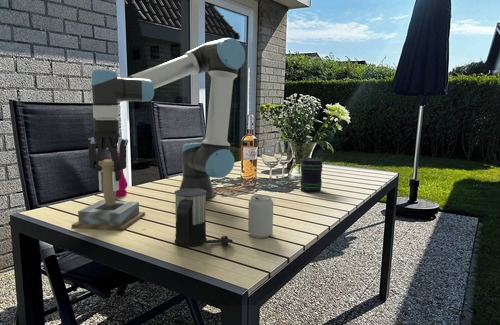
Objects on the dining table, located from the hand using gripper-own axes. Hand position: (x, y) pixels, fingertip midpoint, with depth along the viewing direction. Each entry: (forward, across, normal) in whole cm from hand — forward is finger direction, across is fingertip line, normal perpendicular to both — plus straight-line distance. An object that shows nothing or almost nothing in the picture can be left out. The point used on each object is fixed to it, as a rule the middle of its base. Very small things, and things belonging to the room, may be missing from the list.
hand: (109, 190), depth 120 cm
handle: (+5, 0, 0) cm, 5 cm away
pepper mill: (+11, +14, -34) cm, 38 cm away
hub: (+11, 0, 0) cm, 11 cm away
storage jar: (+11, -69, -58) cm, 91 cm away
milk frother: (+11, -36, +15) cm, 40 cm away
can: (+11, -51, +5) cm, 52 cm away
